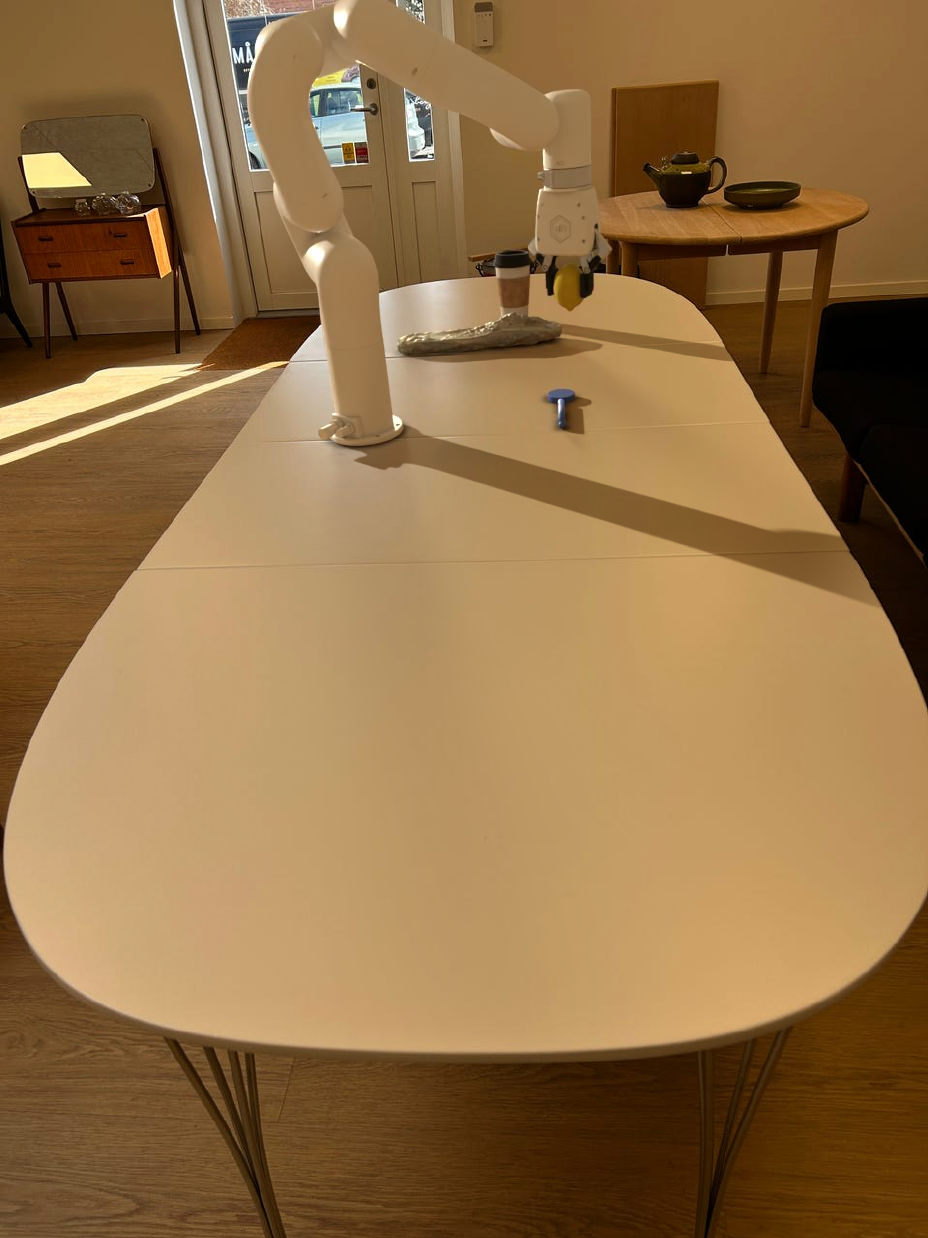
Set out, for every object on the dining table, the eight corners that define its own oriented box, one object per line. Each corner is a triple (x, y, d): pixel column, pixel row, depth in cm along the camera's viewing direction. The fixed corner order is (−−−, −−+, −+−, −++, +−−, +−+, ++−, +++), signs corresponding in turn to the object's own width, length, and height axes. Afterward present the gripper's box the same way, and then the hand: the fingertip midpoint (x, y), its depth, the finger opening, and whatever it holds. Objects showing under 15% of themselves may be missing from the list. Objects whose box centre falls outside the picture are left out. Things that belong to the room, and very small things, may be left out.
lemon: (585, 306, 162) (585, 257, 158) (586, 314, 157) (586, 265, 153) (553, 308, 162) (552, 260, 158) (554, 316, 158) (552, 267, 154)
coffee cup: (492, 325, 210) (488, 255, 202) (502, 315, 217) (498, 247, 209) (528, 325, 208) (525, 255, 200) (537, 315, 214) (534, 246, 206)
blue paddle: (576, 428, 153) (576, 421, 152) (547, 430, 154) (547, 423, 153) (574, 393, 168) (574, 386, 167) (547, 394, 168) (547, 388, 168)
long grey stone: (399, 351, 203) (399, 367, 195) (395, 327, 200) (394, 343, 192) (559, 328, 202) (565, 343, 194) (557, 303, 199) (563, 318, 191)
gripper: (509, 182, 150) (515, 297, 160) (606, 182, 142) (605, 304, 151) (532, 174, 156) (536, 286, 165) (627, 174, 147) (625, 292, 157)
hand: (569, 293), depth 158 cm, fingers closed on lemon, 5 cm apart
